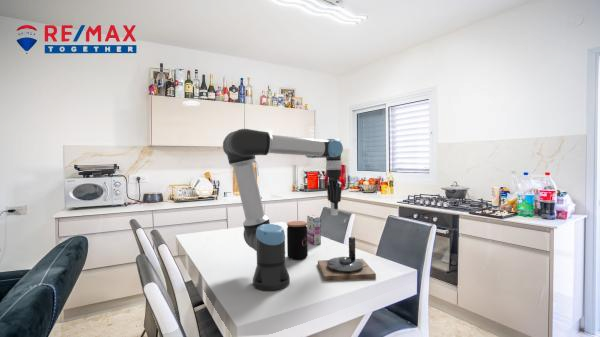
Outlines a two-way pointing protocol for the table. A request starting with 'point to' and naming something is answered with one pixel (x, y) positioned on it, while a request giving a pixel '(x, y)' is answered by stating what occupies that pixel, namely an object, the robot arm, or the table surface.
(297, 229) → the coffee jar
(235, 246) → the table surface
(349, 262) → the capstan turntable
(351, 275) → the walnut base
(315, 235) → the candy bar box
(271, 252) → the robot arm
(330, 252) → the table surface
